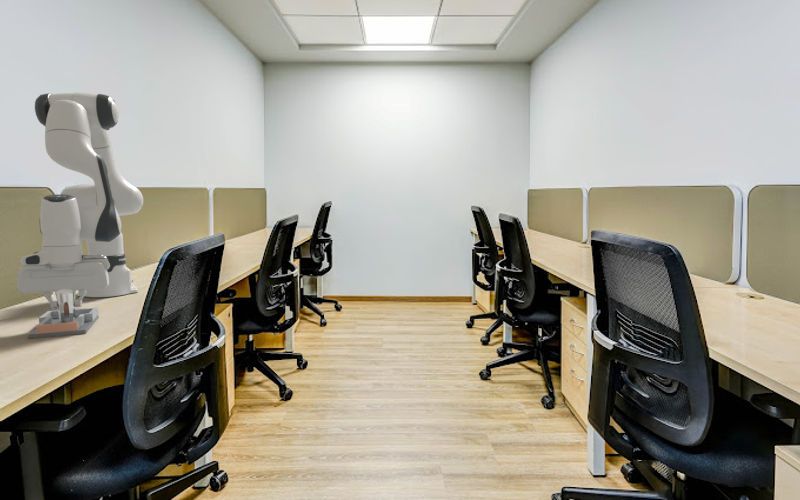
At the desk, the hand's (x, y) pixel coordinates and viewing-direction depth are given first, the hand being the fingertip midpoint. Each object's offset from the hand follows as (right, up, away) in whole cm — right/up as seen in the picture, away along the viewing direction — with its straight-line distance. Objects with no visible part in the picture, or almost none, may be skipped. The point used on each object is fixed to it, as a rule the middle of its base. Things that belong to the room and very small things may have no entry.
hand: (66, 307), depth 131 cm
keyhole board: (+1, -5, -1) cm, 5 cm away
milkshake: (0, -4, +1) cm, 4 cm away
